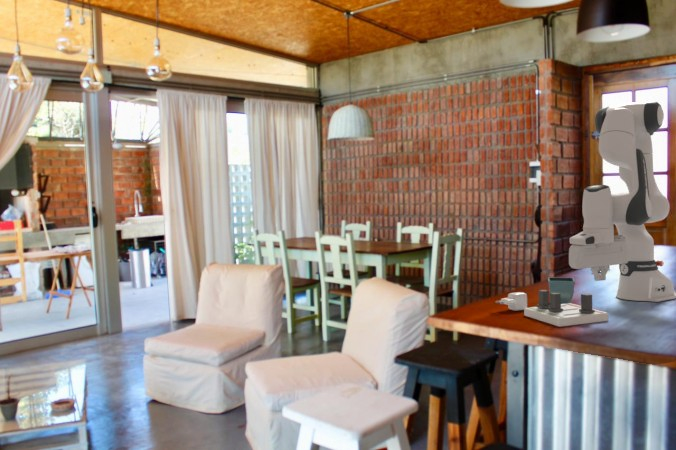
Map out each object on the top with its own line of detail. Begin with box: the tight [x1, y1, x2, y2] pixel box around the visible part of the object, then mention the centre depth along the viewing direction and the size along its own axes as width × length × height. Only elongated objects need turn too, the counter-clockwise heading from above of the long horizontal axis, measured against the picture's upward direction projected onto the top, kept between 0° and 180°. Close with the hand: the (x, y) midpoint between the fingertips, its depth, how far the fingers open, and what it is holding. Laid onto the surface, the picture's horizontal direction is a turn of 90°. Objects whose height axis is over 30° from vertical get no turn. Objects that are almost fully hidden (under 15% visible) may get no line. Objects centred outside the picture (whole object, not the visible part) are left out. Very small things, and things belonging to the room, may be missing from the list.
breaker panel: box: [523, 302, 609, 327], centre depth 189 cm, size 18×18×3 cm
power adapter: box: [495, 291, 528, 311], centre depth 204 cm, size 11×5×6 cm, turn 111°
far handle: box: [536, 289, 550, 309], centre depth 194 cm, size 3×3×6 cm
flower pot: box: [547, 276, 576, 304], centre depth 212 cm, size 9×9×9 cm
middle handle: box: [548, 292, 563, 312], centre depth 188 cm, size 3×3×6 cm
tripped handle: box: [579, 293, 596, 313], centre depth 184 cm, size 3×3×6 cm
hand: (600, 280), depth 185 cm, fingers closed
